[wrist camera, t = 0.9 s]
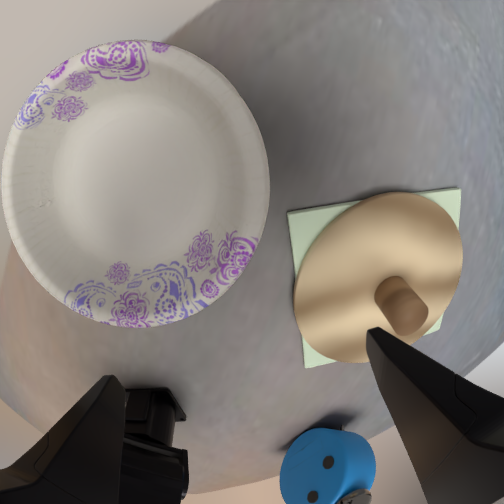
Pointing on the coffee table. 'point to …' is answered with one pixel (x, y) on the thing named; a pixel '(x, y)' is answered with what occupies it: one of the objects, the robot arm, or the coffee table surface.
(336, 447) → the alarm clock
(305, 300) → the lid
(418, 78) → the coffee table surface
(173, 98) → the white and purple bowl
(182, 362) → the coffee table surface
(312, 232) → the mat
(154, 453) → the robot arm
